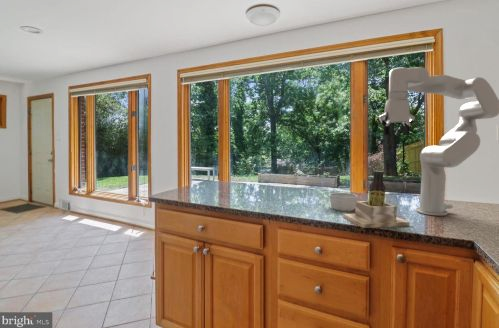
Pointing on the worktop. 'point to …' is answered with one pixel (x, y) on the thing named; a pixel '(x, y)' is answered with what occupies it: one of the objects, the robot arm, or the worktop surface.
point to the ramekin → (343, 201)
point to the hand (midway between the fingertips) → (396, 135)
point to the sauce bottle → (377, 190)
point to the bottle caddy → (375, 216)
